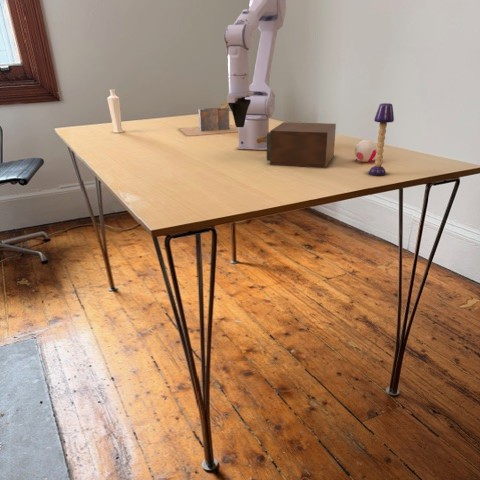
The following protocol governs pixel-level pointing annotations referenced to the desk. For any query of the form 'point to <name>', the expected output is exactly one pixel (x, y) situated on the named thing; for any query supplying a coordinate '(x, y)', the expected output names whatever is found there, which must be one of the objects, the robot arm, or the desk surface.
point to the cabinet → (302, 144)
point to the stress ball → (365, 151)
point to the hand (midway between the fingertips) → (239, 126)
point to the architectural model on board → (212, 122)
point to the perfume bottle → (115, 111)
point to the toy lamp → (381, 135)
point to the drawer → (262, 139)
